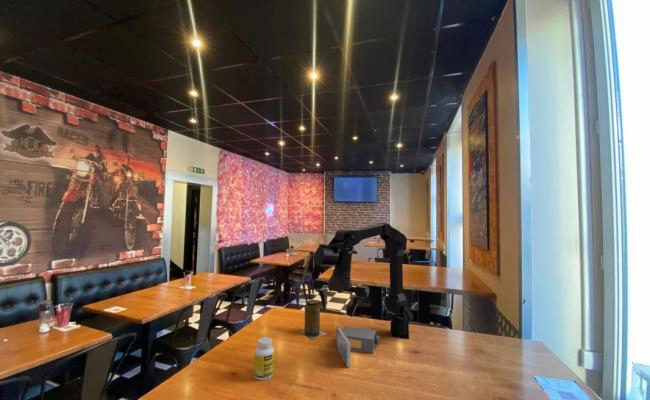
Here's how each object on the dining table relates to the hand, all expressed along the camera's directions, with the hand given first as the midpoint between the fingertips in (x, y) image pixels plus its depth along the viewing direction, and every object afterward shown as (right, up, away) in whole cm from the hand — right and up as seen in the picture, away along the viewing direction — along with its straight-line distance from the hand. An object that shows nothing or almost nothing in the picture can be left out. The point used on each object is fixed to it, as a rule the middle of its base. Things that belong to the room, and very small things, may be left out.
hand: (337, 313), depth 89 cm
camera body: (+7, -14, +6) cm, 17 cm away
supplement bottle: (-22, -13, -12) cm, 28 cm away
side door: (+1, -13, -3) cm, 13 cm away
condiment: (-9, -15, +16) cm, 24 cm away
